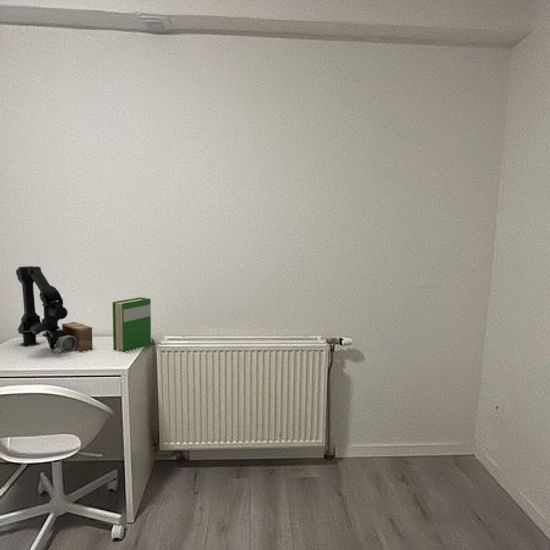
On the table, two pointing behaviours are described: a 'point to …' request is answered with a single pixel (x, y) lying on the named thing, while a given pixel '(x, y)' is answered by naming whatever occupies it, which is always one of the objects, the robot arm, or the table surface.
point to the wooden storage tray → (79, 335)
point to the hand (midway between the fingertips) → (51, 348)
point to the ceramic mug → (65, 344)
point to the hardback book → (131, 323)
